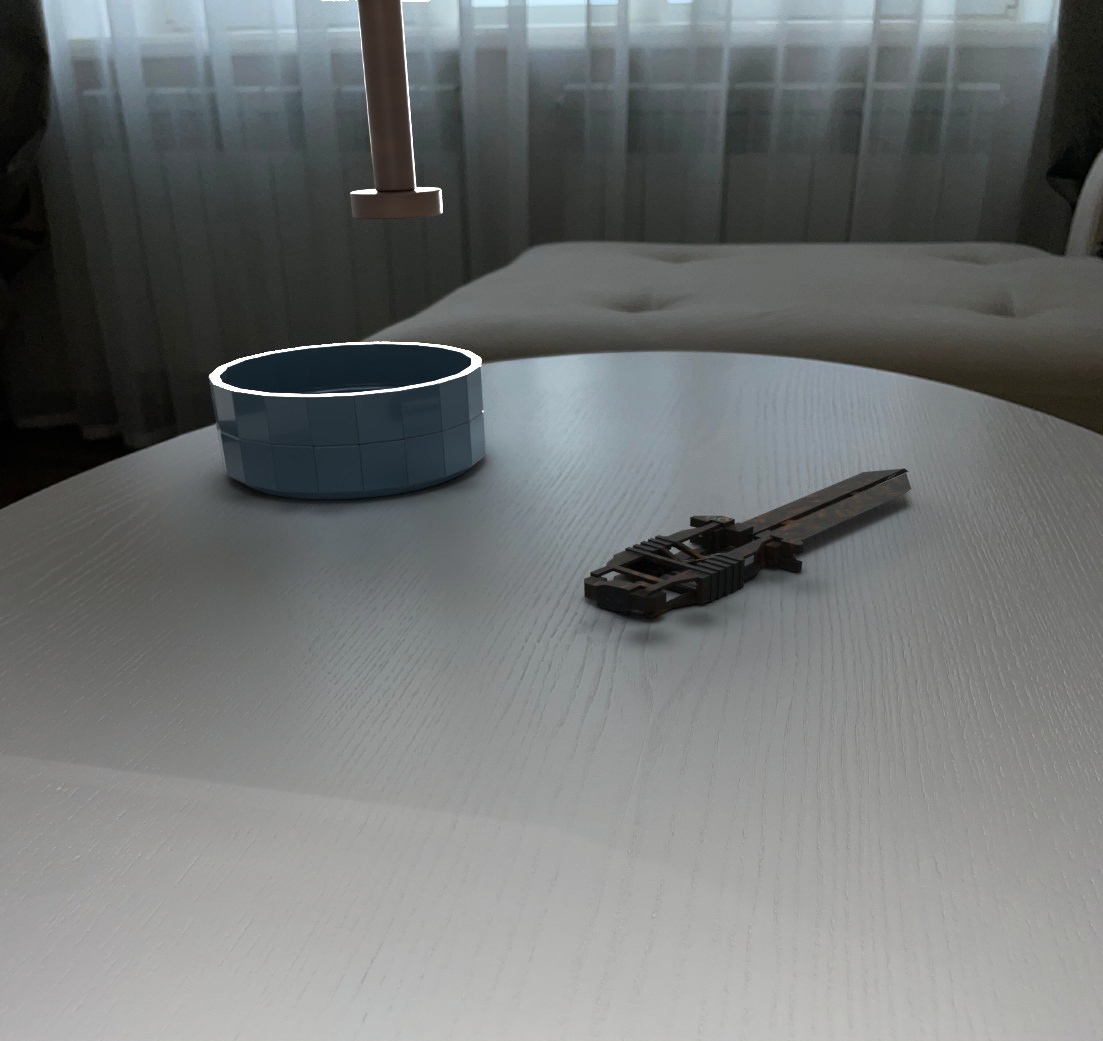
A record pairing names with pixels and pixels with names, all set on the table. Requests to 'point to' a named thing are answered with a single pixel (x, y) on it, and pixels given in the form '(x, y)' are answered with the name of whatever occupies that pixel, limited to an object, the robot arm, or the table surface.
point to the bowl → (350, 418)
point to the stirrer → (389, 120)
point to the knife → (721, 532)
